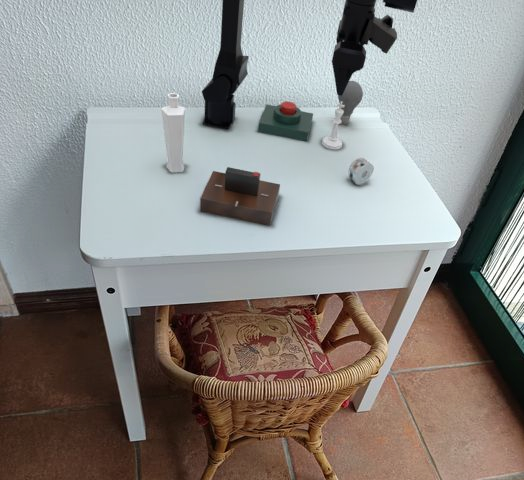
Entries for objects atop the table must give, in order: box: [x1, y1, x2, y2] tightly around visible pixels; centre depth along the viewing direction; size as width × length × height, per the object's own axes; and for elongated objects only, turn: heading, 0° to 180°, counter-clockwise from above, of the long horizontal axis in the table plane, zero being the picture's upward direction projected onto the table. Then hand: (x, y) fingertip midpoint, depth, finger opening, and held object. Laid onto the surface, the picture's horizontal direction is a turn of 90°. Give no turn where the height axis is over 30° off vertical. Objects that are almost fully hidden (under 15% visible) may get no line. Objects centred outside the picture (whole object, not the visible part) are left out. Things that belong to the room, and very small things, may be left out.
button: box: [280, 101, 297, 115], centre depth 117 cm, size 4×4×2 cm
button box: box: [257, 103, 314, 142], centre depth 119 cm, size 12×10×4 cm
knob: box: [225, 166, 261, 196], centre depth 94 cm, size 6×2×4 cm, turn 80°
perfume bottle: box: [161, 92, 186, 174], centre depth 98 cm, size 5×4×15 cm
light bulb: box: [337, 80, 364, 125], centre depth 121 cm, size 6×6×10 cm
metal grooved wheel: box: [347, 157, 374, 186], centre depth 106 cm, size 5×3×5 cm, turn 123°
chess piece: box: [321, 102, 345, 150], centre depth 113 cm, size 5×5×10 cm
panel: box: [199, 170, 281, 226], centre depth 97 cm, size 14×11×3 cm
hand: (340, 85), depth 105 cm, fingers open, 9 cm apart
